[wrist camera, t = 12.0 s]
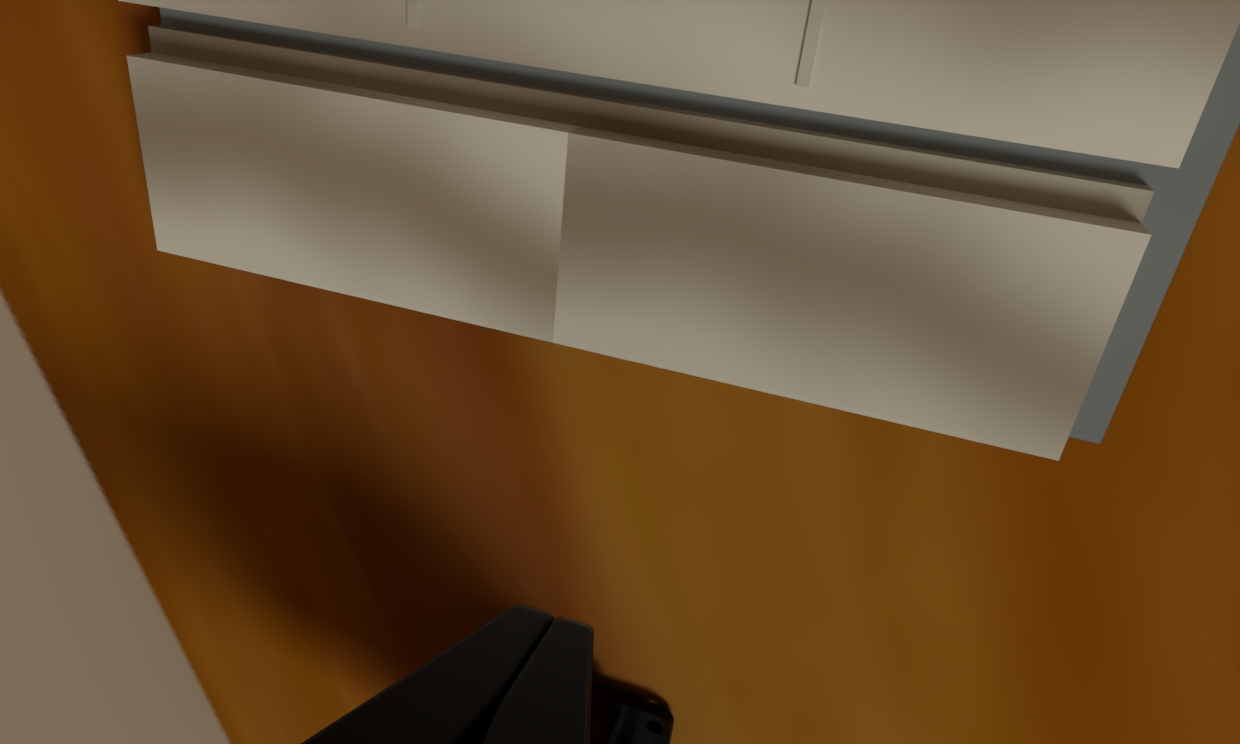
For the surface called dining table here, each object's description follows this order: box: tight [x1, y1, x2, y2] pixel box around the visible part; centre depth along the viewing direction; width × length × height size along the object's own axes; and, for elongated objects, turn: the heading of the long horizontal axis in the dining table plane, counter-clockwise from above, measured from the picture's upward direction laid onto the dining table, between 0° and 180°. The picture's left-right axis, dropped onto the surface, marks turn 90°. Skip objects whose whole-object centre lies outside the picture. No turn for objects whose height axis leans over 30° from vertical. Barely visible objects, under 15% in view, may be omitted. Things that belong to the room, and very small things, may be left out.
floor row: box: [126, 24, 1154, 461], centre depth 19 cm, size 5×22×1 cm, turn 84°
